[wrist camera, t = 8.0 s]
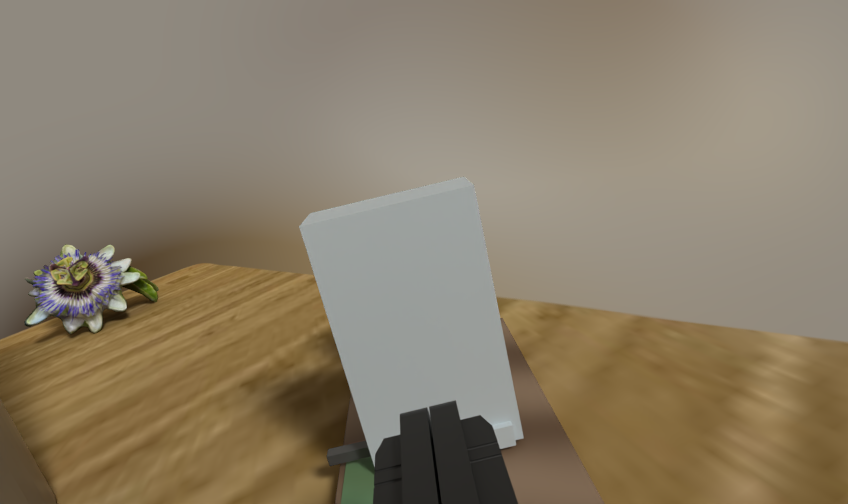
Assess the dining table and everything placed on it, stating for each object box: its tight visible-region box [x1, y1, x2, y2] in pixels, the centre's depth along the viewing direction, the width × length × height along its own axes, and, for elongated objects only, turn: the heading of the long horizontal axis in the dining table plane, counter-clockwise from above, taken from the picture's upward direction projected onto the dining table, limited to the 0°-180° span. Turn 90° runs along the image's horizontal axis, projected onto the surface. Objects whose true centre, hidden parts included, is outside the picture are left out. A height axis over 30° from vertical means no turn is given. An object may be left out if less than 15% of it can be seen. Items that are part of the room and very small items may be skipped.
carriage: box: [299, 177, 524, 467], centre depth 22 cm, size 8×8×11 cm
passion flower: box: [25, 245, 158, 334], centre depth 57 cm, size 11×11×12 cm
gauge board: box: [335, 318, 604, 504], centre depth 20 cm, size 22×10×8 cm, turn 4°
